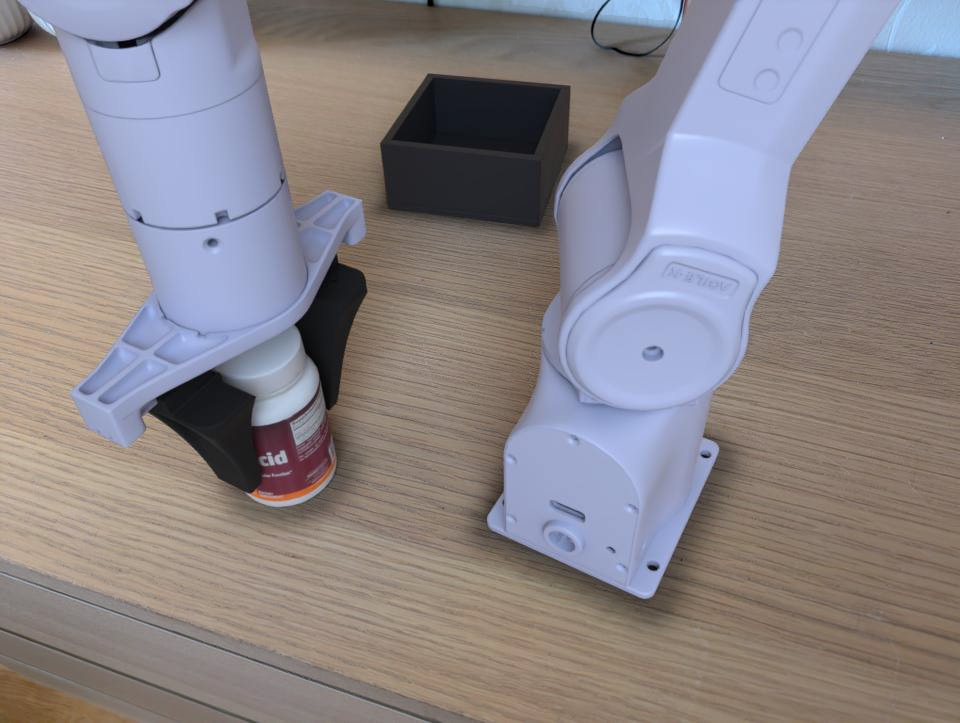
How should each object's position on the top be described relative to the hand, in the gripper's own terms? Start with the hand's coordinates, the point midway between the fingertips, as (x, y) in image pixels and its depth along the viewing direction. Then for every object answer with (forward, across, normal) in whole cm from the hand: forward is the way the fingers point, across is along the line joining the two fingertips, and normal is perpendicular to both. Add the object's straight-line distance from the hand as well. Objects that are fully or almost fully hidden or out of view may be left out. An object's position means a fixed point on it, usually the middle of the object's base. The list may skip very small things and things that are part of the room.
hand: (280, 438), depth 38 cm
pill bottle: (+3, 0, 0) cm, 3 cm away
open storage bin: (+2, -28, -5) cm, 29 cm away
